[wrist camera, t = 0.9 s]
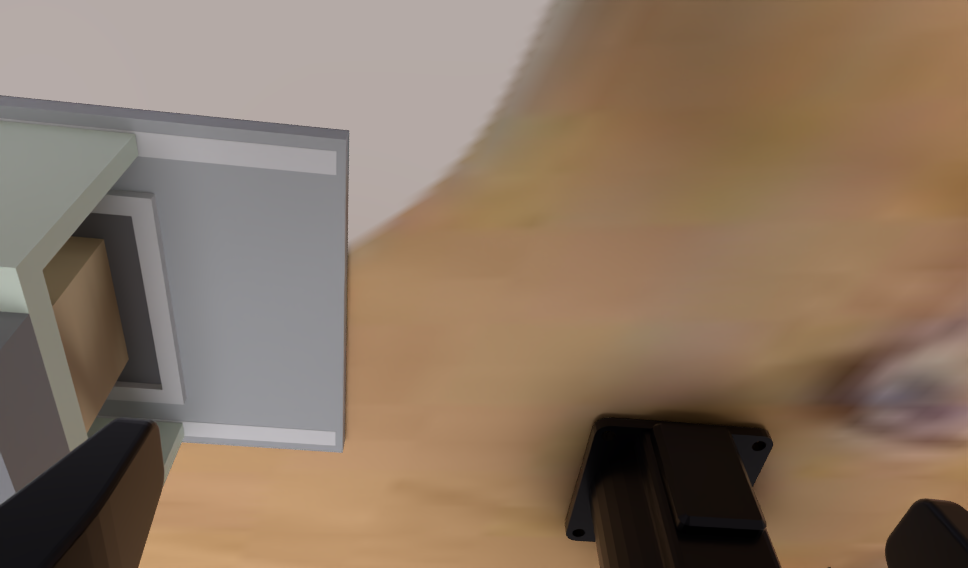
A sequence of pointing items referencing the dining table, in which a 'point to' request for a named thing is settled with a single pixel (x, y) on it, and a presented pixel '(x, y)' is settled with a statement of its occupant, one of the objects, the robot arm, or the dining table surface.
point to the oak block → (87, 320)
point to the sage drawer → (24, 295)
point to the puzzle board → (224, 272)
